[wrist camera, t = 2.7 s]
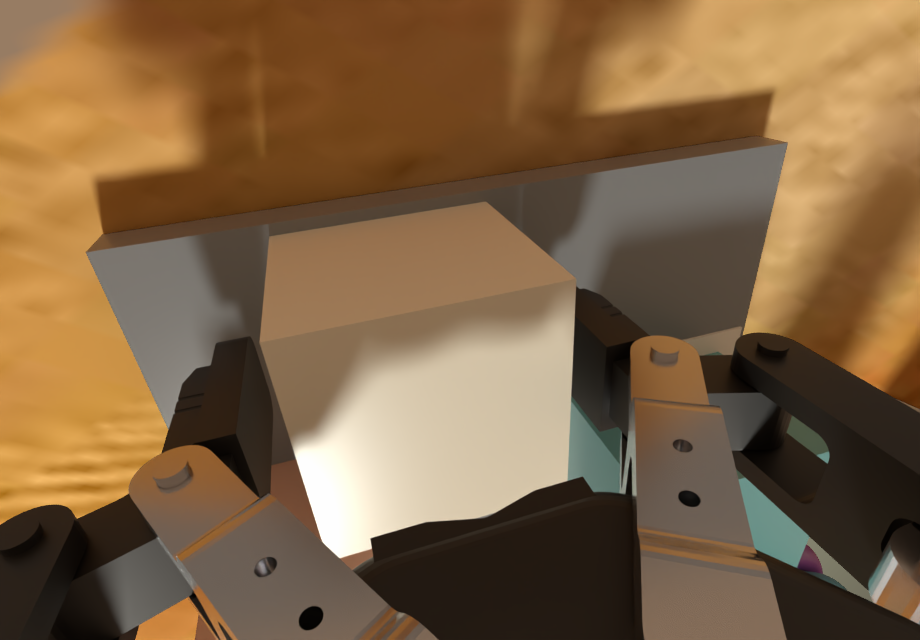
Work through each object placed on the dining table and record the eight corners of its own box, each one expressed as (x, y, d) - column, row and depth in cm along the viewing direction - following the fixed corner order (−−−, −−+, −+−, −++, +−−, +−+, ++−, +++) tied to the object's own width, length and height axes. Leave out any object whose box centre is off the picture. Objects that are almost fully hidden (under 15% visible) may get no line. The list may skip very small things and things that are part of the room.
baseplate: (756, 135, 16) (790, 143, 15) (686, 478, 24) (705, 499, 23) (102, 234, 12) (84, 254, 11) (265, 605, 20) (264, 638, 19)
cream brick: (486, 201, 13) (575, 278, 9) (494, 371, 16) (567, 491, 12) (269, 236, 12) (259, 342, 8) (317, 412, 15) (328, 561, 11)
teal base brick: (718, 351, 18) (846, 445, 14) (692, 472, 21) (791, 580, 17) (562, 390, 17) (651, 506, 13) (558, 513, 20) (629, 639, 16)
